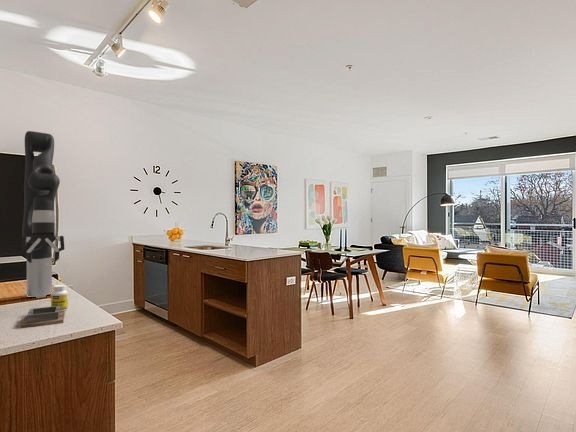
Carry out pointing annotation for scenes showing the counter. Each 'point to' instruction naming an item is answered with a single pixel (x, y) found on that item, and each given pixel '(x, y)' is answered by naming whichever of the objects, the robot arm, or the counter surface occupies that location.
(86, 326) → the counter surface
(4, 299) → the counter surface
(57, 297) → the supplement bottle
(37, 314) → the socket base
